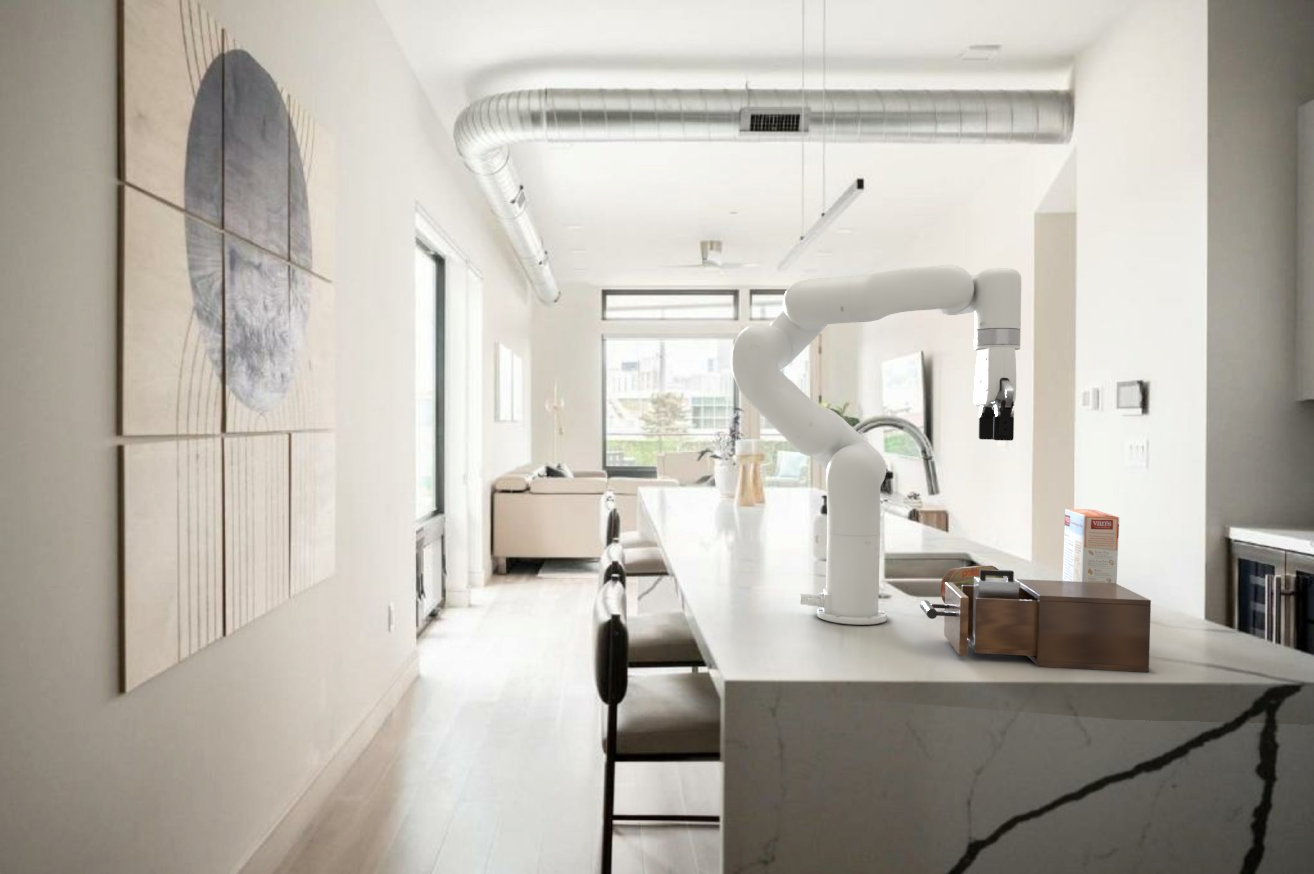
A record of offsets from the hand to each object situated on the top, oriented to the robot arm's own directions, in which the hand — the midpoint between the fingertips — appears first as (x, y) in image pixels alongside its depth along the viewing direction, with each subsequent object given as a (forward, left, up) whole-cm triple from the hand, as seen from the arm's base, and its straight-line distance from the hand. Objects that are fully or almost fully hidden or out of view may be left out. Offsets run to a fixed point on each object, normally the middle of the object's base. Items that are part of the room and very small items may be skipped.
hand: (995, 439), depth 159 cm
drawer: (-4, -16, -32) cm, 36 cm away
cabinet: (+9, -16, -33) cm, 38 cm away
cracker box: (+17, +5, -34) cm, 38 cm away
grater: (-3, -16, -31) cm, 35 cm away
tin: (0, +19, -34) cm, 38 cm away
